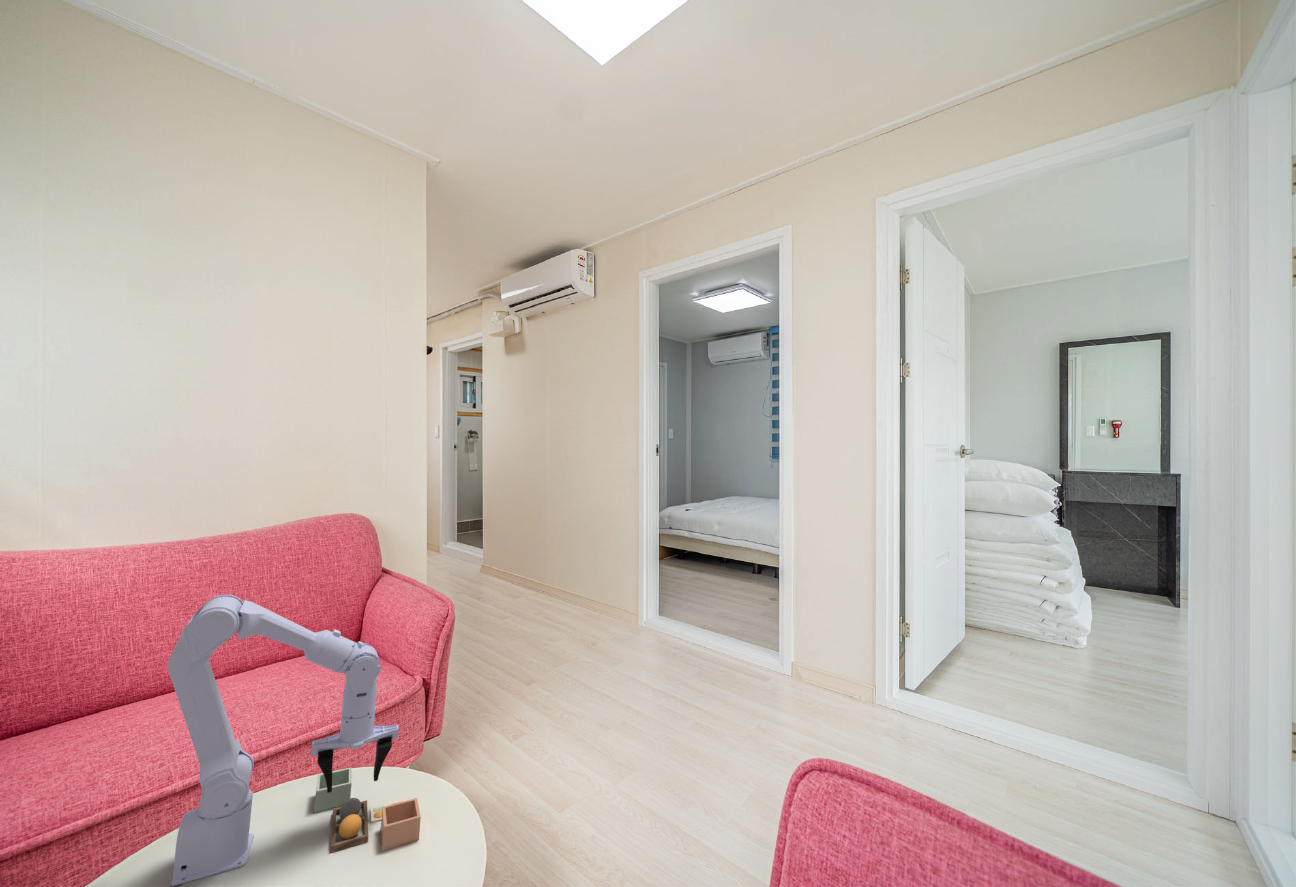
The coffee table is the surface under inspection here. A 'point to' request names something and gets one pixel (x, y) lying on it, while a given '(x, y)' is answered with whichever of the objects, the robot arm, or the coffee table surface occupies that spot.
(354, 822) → the orange ball
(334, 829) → the rack
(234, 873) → the coffee table surface
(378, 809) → the card
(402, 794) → the coffee table surface
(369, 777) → the coffee table surface
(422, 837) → the coffee table surface
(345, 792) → the sage open box
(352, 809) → the grey ball
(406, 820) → the pink open box
